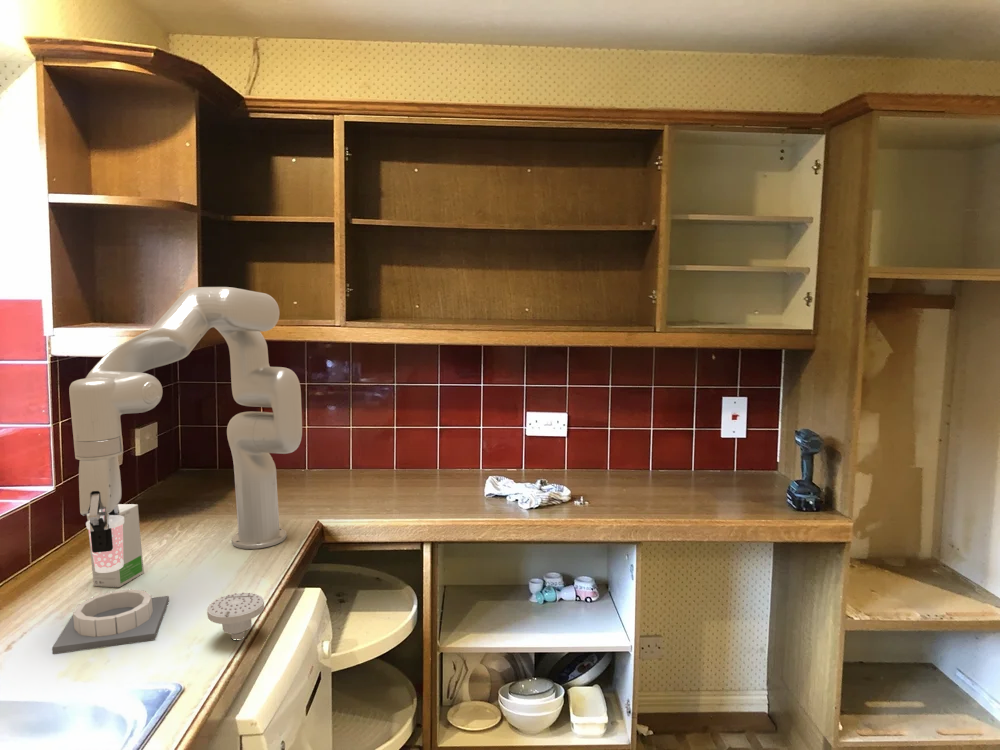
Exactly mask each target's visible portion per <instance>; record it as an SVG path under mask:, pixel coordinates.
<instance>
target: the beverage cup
mask: <svg viewBox="0 0 1000 750" xmlns="http://www.w3.org/2000/svg"><path fill="white" fill-rule="evenodd" d="M103 512H105V509H103ZM100 518H102V519H103V520H104V516H101V517H100ZM123 524H124V517H123V516H121V515H109V528H111V531H112V542H113V549H112V550H111V551H106V552H96V553H94V552H92V555H93V561H94V567H95V571H96V572H98V573H108V572H113V571H117V570H119V569H121V568H122V567H123V565H124V560H123ZM85 526H86V530H88V538H89V537H90V541H89V544H90V543H91V533H90V520H89V521H88V520H87V521H86V522H85ZM91 549H92V544H91Z"/></svg>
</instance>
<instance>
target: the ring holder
mask: <svg viewBox="0 0 1000 750" xmlns="http://www.w3.org/2000/svg"><path fill="white" fill-rule="evenodd" d="M169 597H170V596H169V595H163V596H156V597H152V595H151V594H150V593H149V592H147V591H146V590H139V589H132V588H131V589H121V590H114V591H108V592H105V593H102V594H98V595H95V596H92V597H90V598H88V599H86V600H85V601H83V602H80V603H79V604H78V605H77V606H76V608H75V609H74V611H72V616H71V617H70V618H69V620H68V622H67V624H66V625H65V626H64V628H63V630H62V631H61V633H60V634H59V636H58V638H57V639H56V640H55V642H54V644H53V645H52V647H51V651H52V655H55V654H56V655H57V654H62V653H71V652H78V651H85V650H92V649H98V648H99V649H101V648H106V647H114V646H119V645H126V644H127V645H129V644H136V643H142V642H149V641H155V640H156V638H157V635H158V633H159V630H160V628H161V625H162V621H163V618H164V617H163V616H165V613H166V612H167V608H168V606H167V605H169V603H168V602H170V598H169Z"/></svg>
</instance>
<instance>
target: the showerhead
mask: <svg viewBox="0 0 1000 750" xmlns="http://www.w3.org/2000/svg"><path fill="white" fill-rule="evenodd" d="M264 609H265V599H264V598H263V597H262V596H261V595H259V594H257V593H253V592H252V593H251V592H239V593H238V592H237V593H235V592H234V593H233V594H227V595H225V596H221V597H220V598H218V599H215V600H214V601H212V602H211V603H210V604H209V605H208V606H207V609H206V611H207V612H206V614H207V619H208V620H210V622H212V623H215V624H219V625H222V631H223V632H224V633H226V634H230V636H231V638H232V639H236V640H237V639H242V638H243V637H244V638H245V631H248V629H250V628H251V627H252V619H254V618H256V617H258V616H259V615H261V614H262V613H263V611H264ZM244 638H243V639H244ZM232 639H231V640H232ZM243 639H242V640H243Z"/></svg>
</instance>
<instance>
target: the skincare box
mask: <svg viewBox="0 0 1000 750" xmlns="http://www.w3.org/2000/svg"><path fill="white" fill-rule="evenodd" d="M118 507H119V515H121V516H123V517H124V524H123V560H124V565H123V567H122V568H121V569H119V570H117V571H113V572H108V573H98V572H96V571H95V567H94V561H93V555H92V549H91V543H90V537H89V536H88V540H89V549H90V559H91V560H90V561H91V572H92V573H91V574H92V582H93V583H92V584H93V587H100V588H101V587H103V588H120V587H122V586H124V585H125V584H127V583H129V582H131V581H133V580H134V579H136V578H138V577H140V576H141V574H142V575H143V574H144V573H145V572H144V562H143V561H144V560H143V549H142V548H143V547H142V540H141V539H142V538H141V537H142V536H141V529H140V528H141V527H140V526H141V525H140V514H139V504H137V503H136V504H134V503H131V504H130V503H129V504H128V503H126V504H125V503H123V504H122V503H118ZM99 512H101V510H99ZM100 517H101V516H100ZM86 519H87V521H89V513H88V514H87V515H86ZM139 575H140V576H139ZM132 579H133V580H132Z"/></svg>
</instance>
